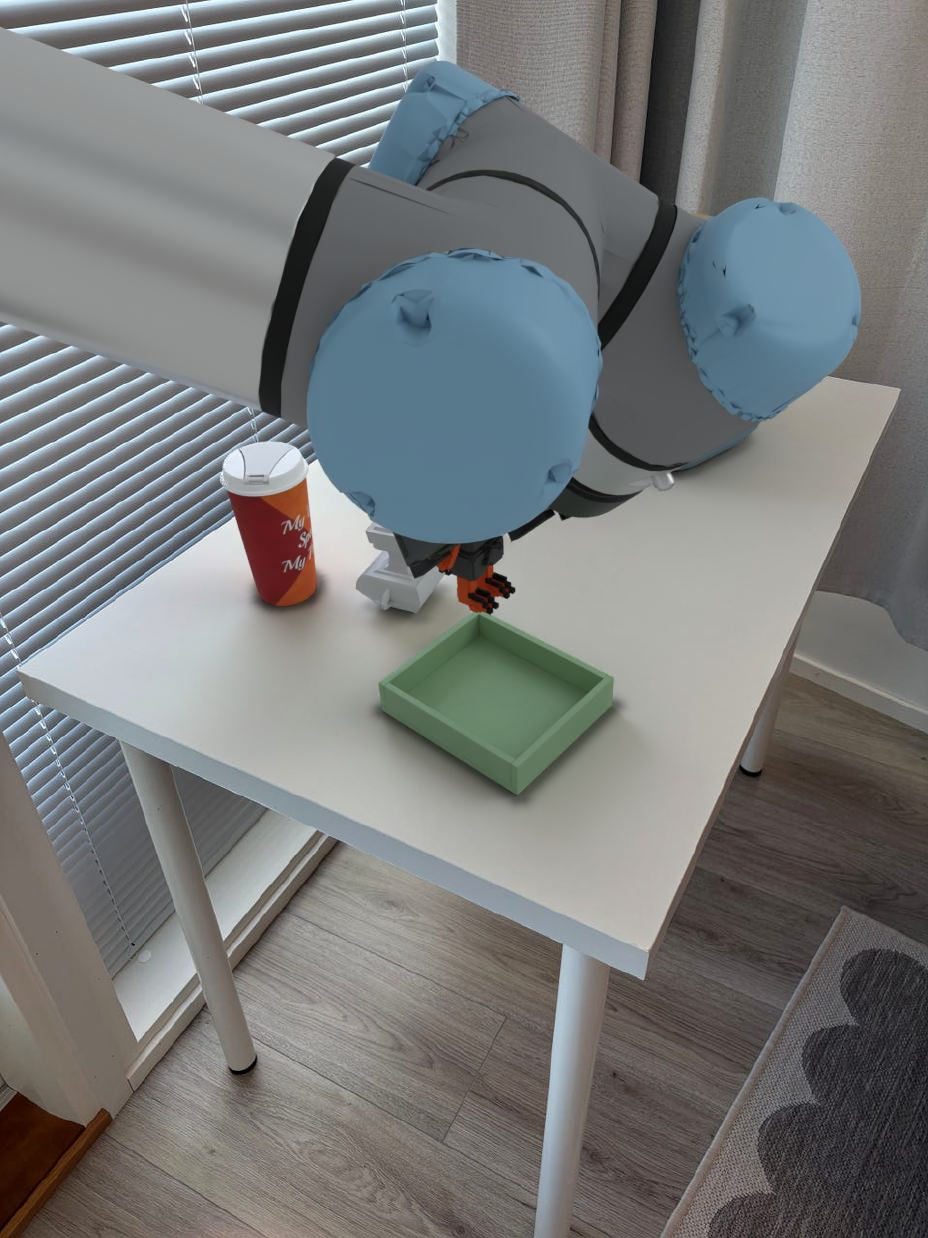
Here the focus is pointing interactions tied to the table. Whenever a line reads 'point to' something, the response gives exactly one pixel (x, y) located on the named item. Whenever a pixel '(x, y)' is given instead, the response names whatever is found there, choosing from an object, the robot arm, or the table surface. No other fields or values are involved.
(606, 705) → the tray
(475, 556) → the toy animal
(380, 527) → the stamp
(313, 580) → the paper cup
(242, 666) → the table surface
